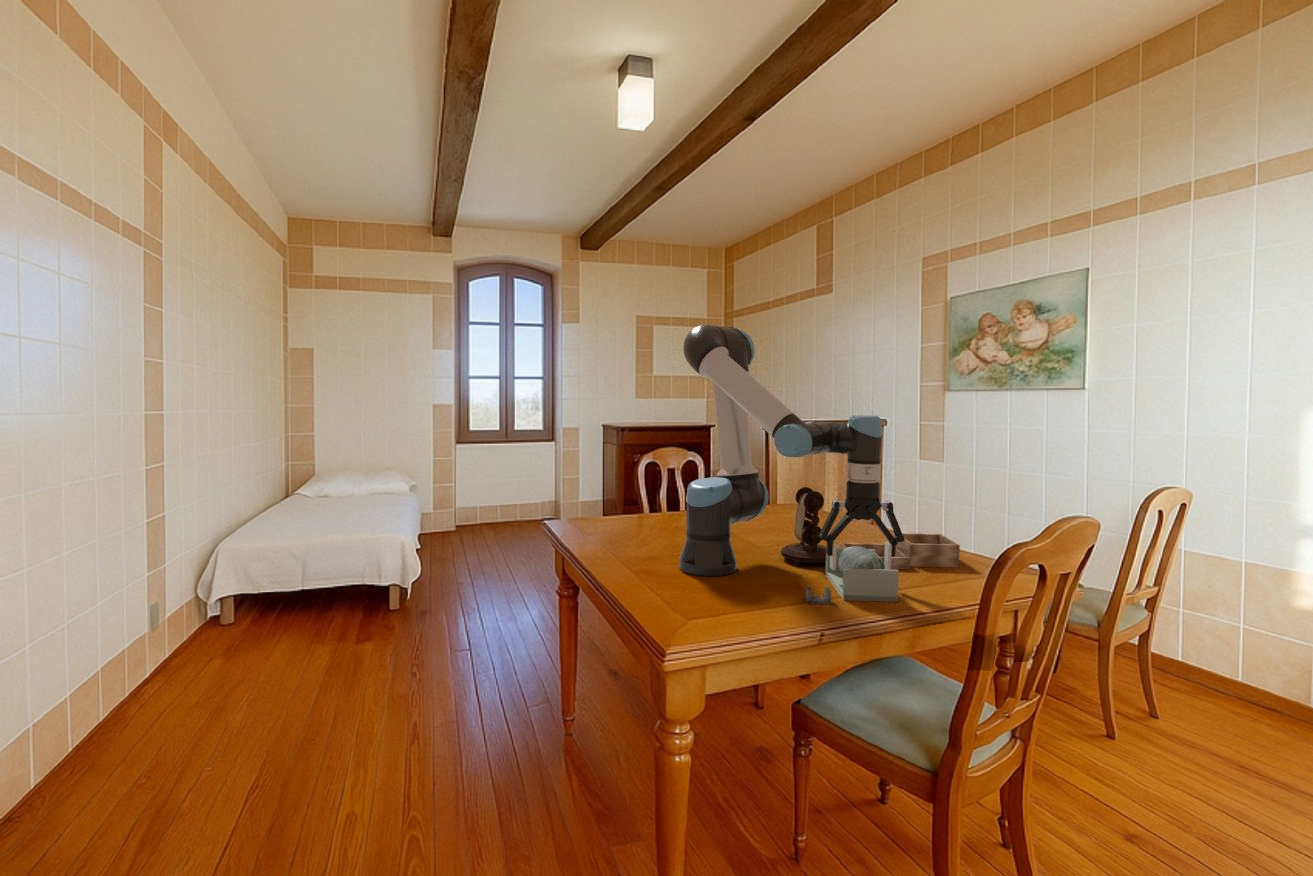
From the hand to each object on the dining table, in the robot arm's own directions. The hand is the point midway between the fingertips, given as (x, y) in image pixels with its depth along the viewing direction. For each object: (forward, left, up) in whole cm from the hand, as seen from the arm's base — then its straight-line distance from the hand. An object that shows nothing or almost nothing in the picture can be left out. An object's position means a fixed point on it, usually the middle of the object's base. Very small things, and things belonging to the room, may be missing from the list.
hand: (859, 569), depth 151 cm
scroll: (-8, +23, -5) cm, 25 cm away
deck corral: (+10, +24, -4) cm, 26 cm away
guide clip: (-12, -11, -4) cm, 17 cm away
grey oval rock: (0, 0, -3) cm, 3 cm away
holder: (0, 0, -4) cm, 4 cm away
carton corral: (+25, +26, -4) cm, 36 cm away
